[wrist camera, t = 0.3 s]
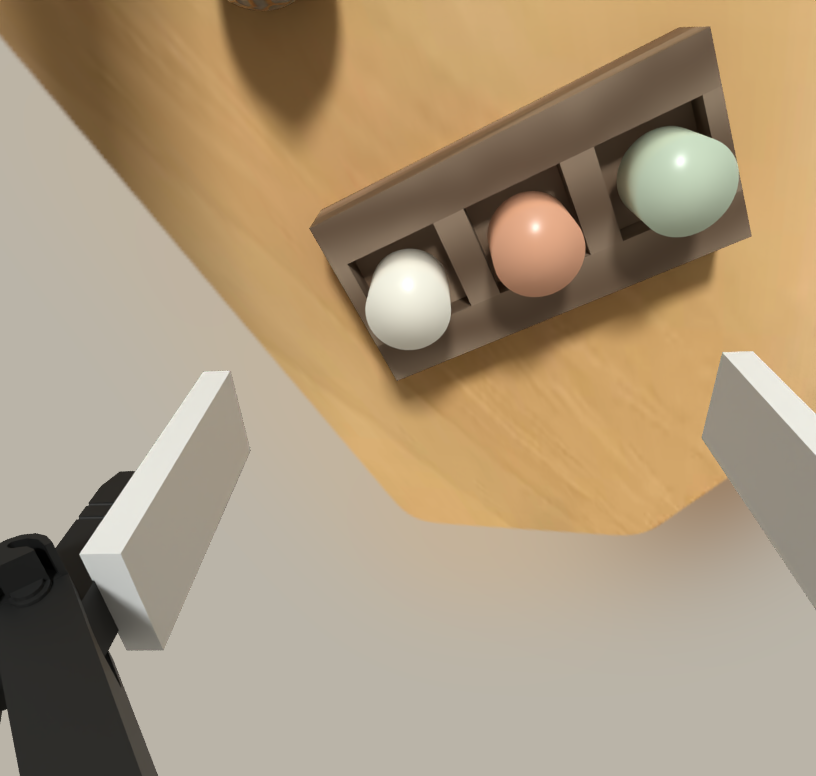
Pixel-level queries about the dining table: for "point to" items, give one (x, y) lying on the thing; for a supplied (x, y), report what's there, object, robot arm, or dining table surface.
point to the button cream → (409, 300)
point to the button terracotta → (535, 244)
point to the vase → (262, 4)
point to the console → (545, 172)
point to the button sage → (677, 180)
